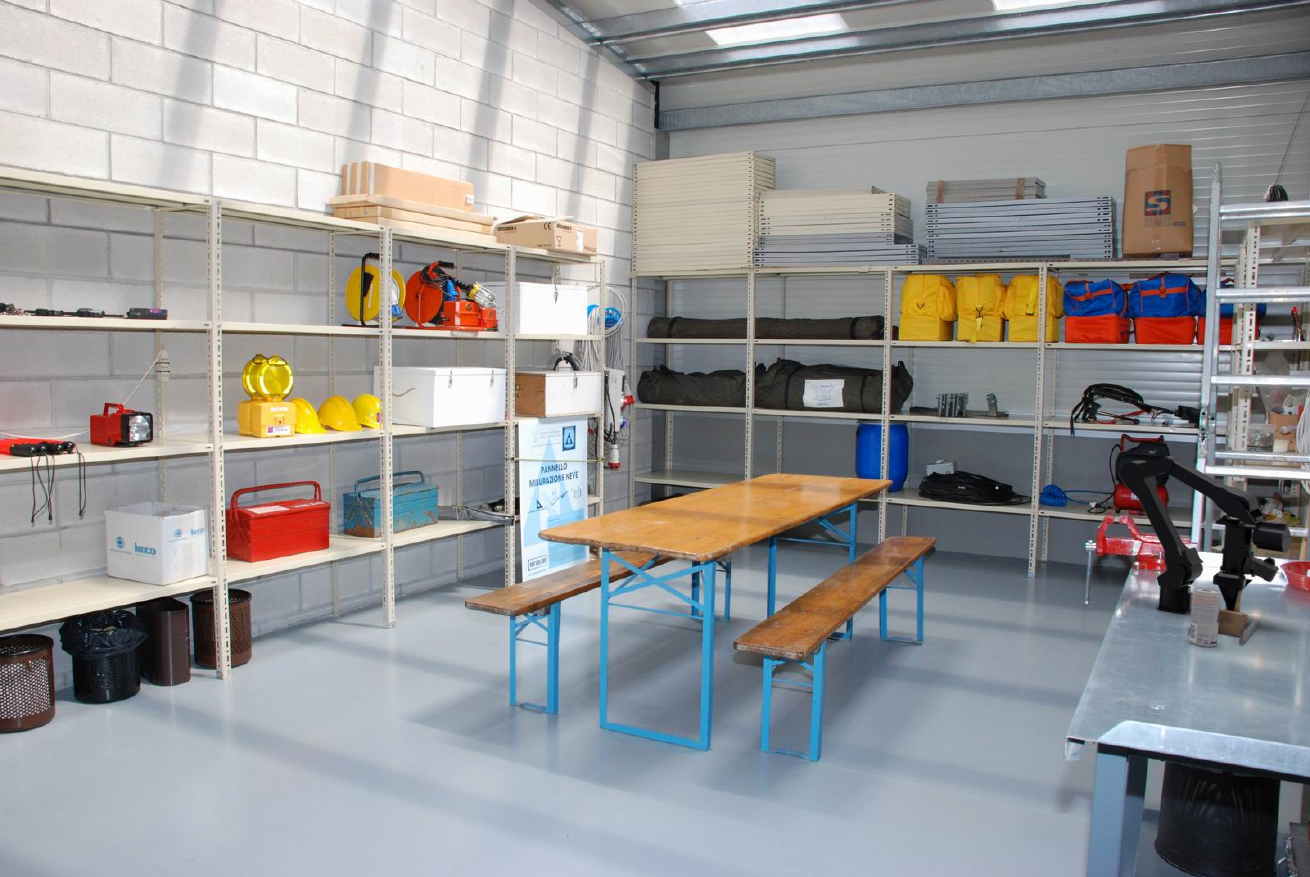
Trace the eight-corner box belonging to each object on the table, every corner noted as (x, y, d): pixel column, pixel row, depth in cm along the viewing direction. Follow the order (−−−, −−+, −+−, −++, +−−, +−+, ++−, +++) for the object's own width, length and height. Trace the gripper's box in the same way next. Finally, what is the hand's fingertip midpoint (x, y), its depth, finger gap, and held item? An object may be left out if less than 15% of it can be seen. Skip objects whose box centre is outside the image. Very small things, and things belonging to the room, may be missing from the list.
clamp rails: (1188, 635, 222) (1188, 628, 221) (1205, 618, 236) (1206, 612, 236) (1242, 645, 215) (1243, 638, 215) (1257, 627, 229) (1257, 620, 229)
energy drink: (1215, 642, 217) (1219, 589, 215) (1218, 648, 212) (1222, 594, 211) (1188, 638, 219) (1192, 586, 218) (1190, 645, 214) (1194, 591, 213)
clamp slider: (1201, 629, 226) (1203, 596, 225) (1213, 616, 237) (1216, 585, 236) (1241, 636, 221) (1243, 602, 220) (1251, 623, 232) (1254, 591, 231)
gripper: (1271, 556, 219) (1265, 624, 220) (1283, 544, 233) (1277, 608, 235) (1214, 549, 226) (1209, 615, 228) (1230, 538, 240) (1225, 600, 242)
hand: (1232, 609), depth 233 cm, fingers closed on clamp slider, 3 cm apart
